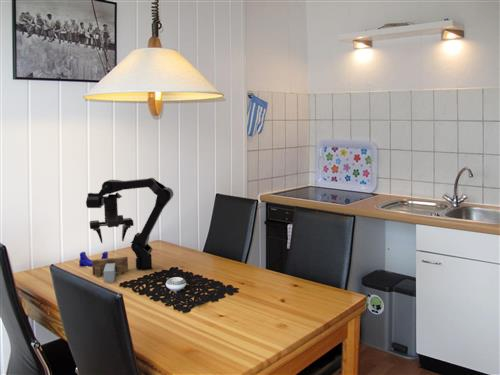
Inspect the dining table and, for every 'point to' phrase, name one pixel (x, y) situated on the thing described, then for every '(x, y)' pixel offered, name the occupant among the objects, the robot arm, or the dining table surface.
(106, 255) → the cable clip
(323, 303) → the dining table surface
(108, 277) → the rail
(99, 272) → the brown wooden bridge block
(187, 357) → the dining table surface
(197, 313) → the dining table surface
